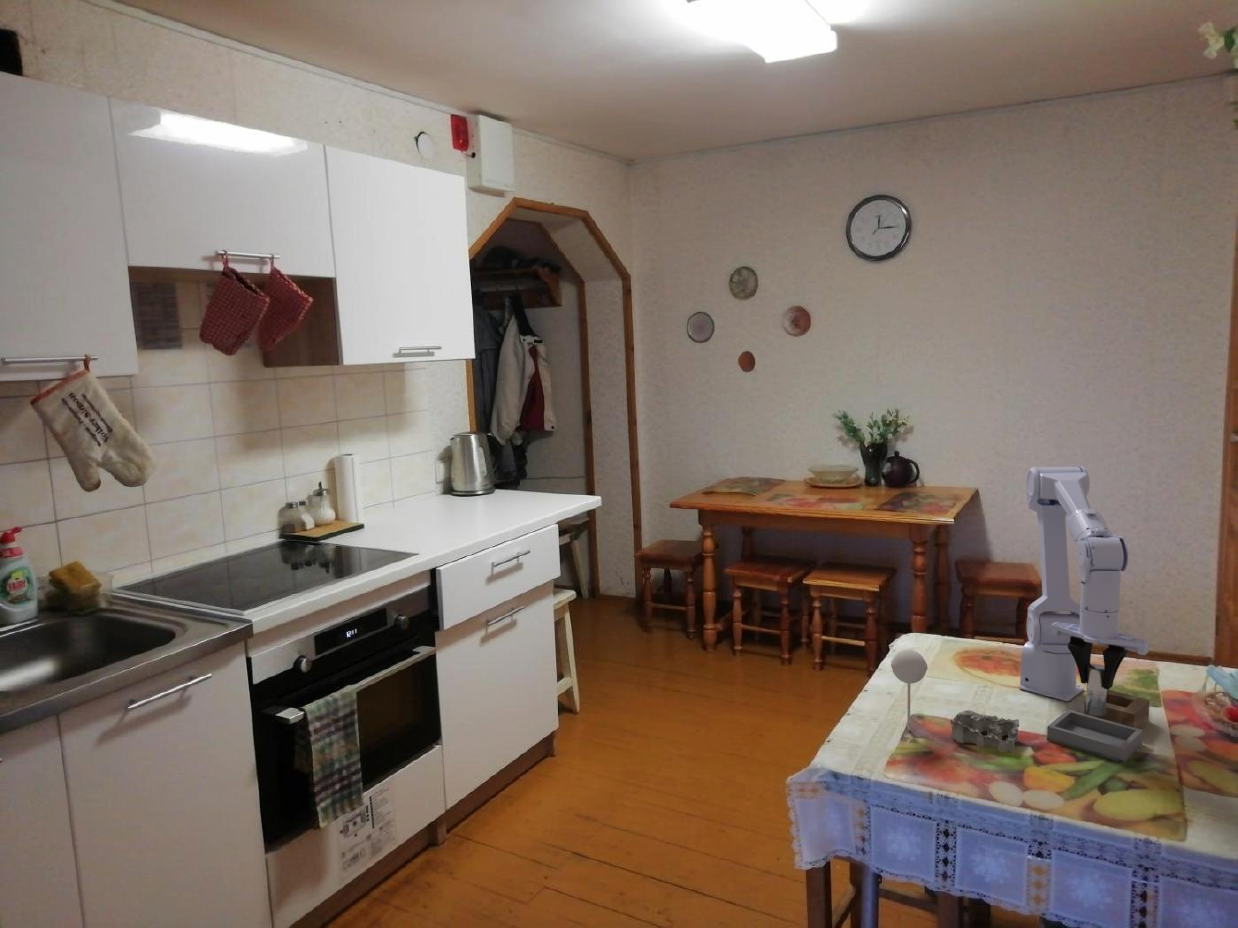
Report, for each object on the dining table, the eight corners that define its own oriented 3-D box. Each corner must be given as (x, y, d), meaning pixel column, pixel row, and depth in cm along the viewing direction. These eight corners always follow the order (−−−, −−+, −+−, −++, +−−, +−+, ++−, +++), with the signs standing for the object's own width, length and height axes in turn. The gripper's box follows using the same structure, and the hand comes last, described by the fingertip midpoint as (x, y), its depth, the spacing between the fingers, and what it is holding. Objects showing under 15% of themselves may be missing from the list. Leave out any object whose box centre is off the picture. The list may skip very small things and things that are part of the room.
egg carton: (946, 741, 150) (946, 719, 149) (958, 725, 156) (958, 703, 155) (1012, 756, 143) (1012, 733, 143) (1022, 738, 149) (1022, 716, 149)
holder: (1083, 722, 154) (1084, 701, 153) (1100, 707, 159) (1101, 687, 158) (1133, 736, 148) (1134, 714, 147) (1148, 720, 153) (1149, 699, 152)
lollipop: (928, 725, 155) (929, 646, 153) (925, 740, 150) (926, 658, 148) (892, 720, 158) (893, 642, 155) (888, 734, 152) (888, 654, 150)
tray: (1046, 739, 148) (1047, 726, 148) (1067, 722, 154) (1068, 709, 154) (1123, 763, 139) (1124, 748, 139) (1142, 743, 145) (1142, 730, 145)
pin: (1083, 711, 146) (1084, 667, 145) (1089, 705, 148) (1091, 662, 147) (1102, 717, 144) (1103, 672, 142) (1108, 711, 146) (1110, 666, 144)
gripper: (1044, 604, 146) (1042, 679, 148) (1140, 622, 135) (1136, 704, 137) (1061, 594, 150) (1058, 668, 152) (1154, 611, 140) (1150, 690, 142)
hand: (1096, 684), depth 145 cm, fingers closed on pin, 3 cm apart
